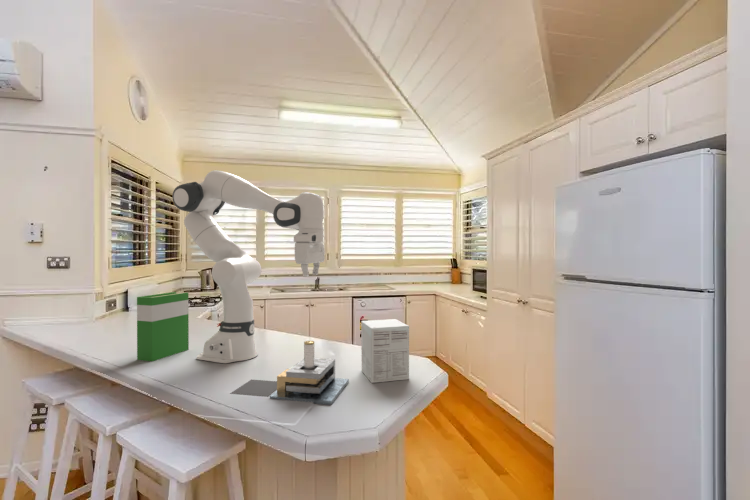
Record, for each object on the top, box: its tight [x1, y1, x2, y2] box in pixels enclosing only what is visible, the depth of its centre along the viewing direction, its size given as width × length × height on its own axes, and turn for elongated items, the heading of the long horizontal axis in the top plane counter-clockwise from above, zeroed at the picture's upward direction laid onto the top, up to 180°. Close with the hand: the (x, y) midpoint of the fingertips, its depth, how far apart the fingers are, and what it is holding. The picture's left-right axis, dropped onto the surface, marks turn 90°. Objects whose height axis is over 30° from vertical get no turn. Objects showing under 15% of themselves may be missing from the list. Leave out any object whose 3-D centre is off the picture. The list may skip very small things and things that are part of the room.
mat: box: [229, 379, 277, 398], centre depth 115 cm, size 12×12×1 cm
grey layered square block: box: [269, 357, 350, 406], centre depth 114 cm, size 18×18×8 cm
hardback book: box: [136, 291, 190, 362], centre depth 152 cm, size 18×7×24 cm, turn 162°
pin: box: [303, 340, 315, 384], centre depth 112 cm, size 3×3×14 cm
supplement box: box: [360, 318, 410, 384], centre depth 128 cm, size 13×13×18 cm
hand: (310, 275), depth 138 cm, fingers open, 8 cm apart
